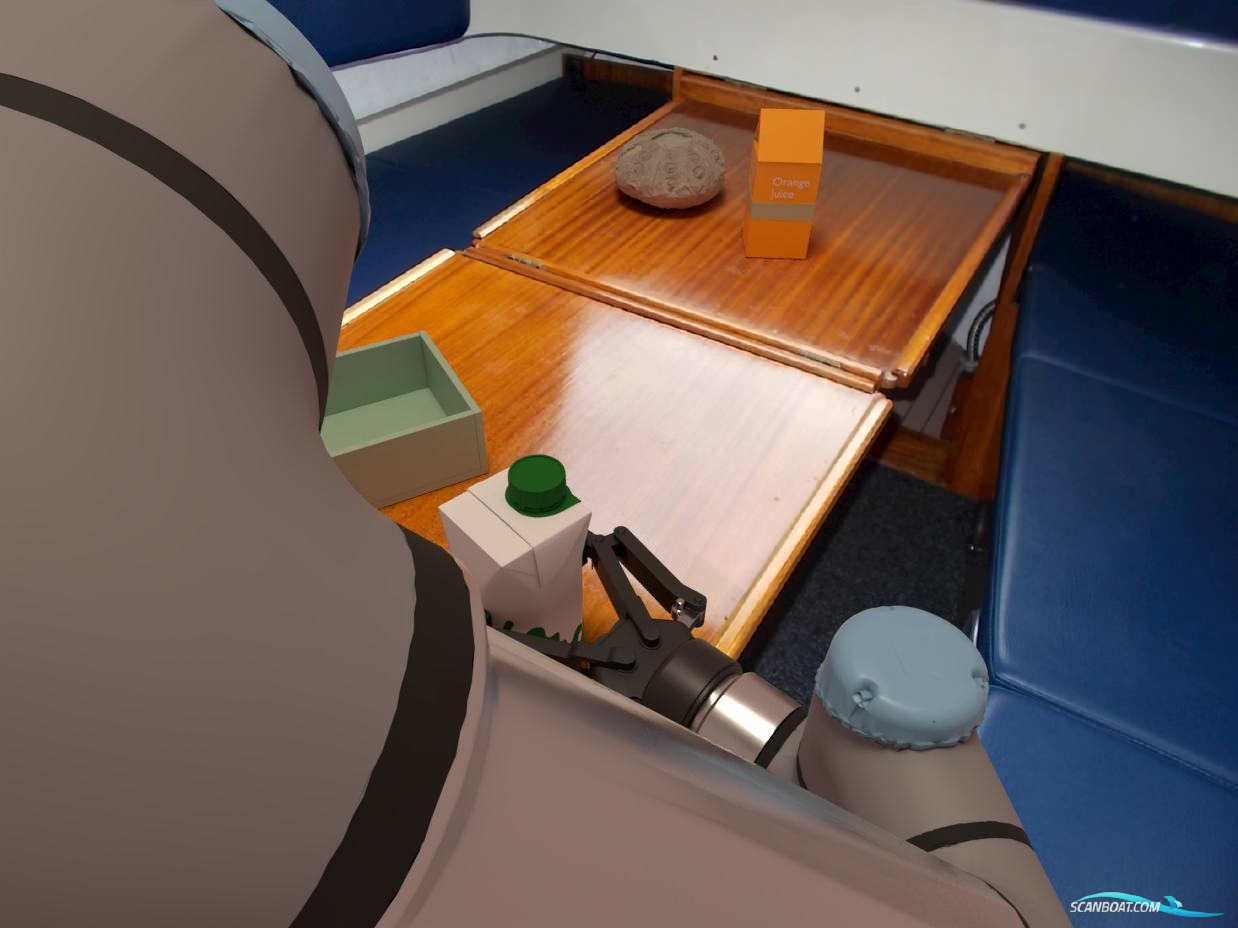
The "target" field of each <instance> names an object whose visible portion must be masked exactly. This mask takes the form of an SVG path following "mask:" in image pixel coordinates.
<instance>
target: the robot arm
mask: <svg viewBox="0 0 1238 928" xmlns="http://www.w3.org/2000/svg"><path fill="white" fill-rule="evenodd" d="M329 67H330V66H328V64H327V63H326V61H325V60H324V59H323V57H322V56H321V55H320V54H319V52H318V51H317V50H316V48H315V47H314V46H313V45H312V43H311V42H310V41H309V40H308V39H307V37H305V36H304V35H303V33H302V32H301V31H300V30H299V29H298V28H297V27H296V26H295V25H294V24H293V23H292V22H291V21H290V20H289V19H288V18H287V17H286V16H285V15H284V14H283V13H281V12H280V11H279V10H278V9H277V8H276V7H275V6H273V5H272V4H271V3H270V2H269V1H267V0H0V928H1074V926H1073V924H1072V922H1071V920H1070V918H1069V916H1068V914H1067V913H1066V909H1065V908H1064V907H1063V905H1062V903H1061V900H1060V898H1059V897H1058V895H1057V892H1056V891H1055V888H1054V887H1053V885H1052V883H1051V880H1050V878H1049V877H1048V875H1047V873H1046V871H1045V869H1044V867H1043V865H1042V863H1041V861H1040V858H1039V857H1038V856H1037V854H1036V852H1035V848H1034V847H1033V845H1032V843H1031V841H1030V839H1029V836H1028V834H1027V832H1026V830H1025V828H1024V825H1023V823H1022V822H1021V820H1020V817H1019V816H1018V814H1017V811H1016V809H1015V808H1014V805H1013V803H1012V801H1011V799H1010V797H1009V796H1008V794H1007V791H1006V789H1005V787H1004V785H1003V783H1002V782H1001V781H1002V780H1001V779H1000V777H999V775H998V773H997V771H996V769H995V767H994V765H993V763H992V761H991V759H990V757H989V755H988V753H987V751H986V749H985V747H984V745H983V743H982V741H981V739H980V737H979V735H978V731H977V729H979V728H980V727H981V726H982V724H983V721H984V720H985V717H984V715H985V712H986V706H987V703H988V700H989V697H988V696H989V691H990V685H989V680H990V678H989V673H988V667H987V664H986V661H985V660H984V658H983V656H982V654H981V652H980V651H979V649H978V648H977V647H976V645H975V644H974V642H973V641H972V640H971V639H970V638H969V636H967V635H966V634H965V633H964V632H962V630H961V629H959V628H958V627H957V626H955V625H954V624H952V623H951V622H950V621H948V620H946V619H944V618H942V617H940V616H938V615H936V614H934V613H931V612H929V611H926V610H924V609H920V608H917V607H912V606H905V605H889V606H886V605H883V606H882V605H881V606H878V607H872V608H868V609H867V608H866V609H863V610H862V611H860V612H857V613H856V614H853V616H851V617H850V618H848V619H847V620H845V622H843V623H842V624H841V626H840V627H839V628H838V629H837V630H836V632H835V634H834V636H833V637H832V640H831V643H830V646H829V647H828V650H827V653H826V655H825V658H824V660H823V661H822V662H821V663H820V664H819V665H820V666H819V667H818V668H817V670H816V675H815V677H814V681H815V683H814V684H815V685H814V688H813V692H812V695H811V700H810V704H809V708H808V709H807V708H805V706H804V705H801V704H800V703H799V702H797V701H796V700H794V699H793V698H792V697H790V696H789V695H787V694H786V693H784V692H783V691H781V690H780V689H779V688H777V687H776V686H774V685H773V684H772V683H770V682H768V681H767V680H765V679H764V678H763V677H761V676H760V675H758V674H757V673H755V672H745V673H744V671H743V668H742V665H741V664H740V663H739V662H738V661H737V660H735V659H734V658H733V657H731V656H729V655H728V654H727V653H725V652H723V651H722V650H721V649H719V648H718V647H716V646H715V645H714V644H712V643H710V642H708V641H707V640H706V639H704V638H700V637H695V636H694V635H693V633H692V631H693V630H694V629H698V628H699V629H700V628H702V627H703V626H704V625H705V621H706V611H707V604H708V598H707V597H706V595H705V594H704V593H701V592H699V591H697V590H695V589H693V588H691V587H689V586H687V585H685V584H684V583H683V582H681V580H679V579H678V577H677V576H676V575H675V574H674V573H672V571H671V570H670V569H668V568H667V566H666V565H665V564H664V563H663V562H662V561H661V560H660V559H659V558H658V557H657V556H656V555H655V554H654V553H653V552H652V551H651V550H650V549H649V548H648V547H647V546H646V545H644V543H643V542H642V541H641V540H640V538H638V537H637V536H636V535H635V534H634V533H633V532H632V531H631V530H630V529H629V528H628V527H626V526H625V525H617V526H616V527H614V528H613V531H612V532H610V533H608V534H605V535H604V534H600V533H599V534H596V533H594V532H593V531H591V530H590V529H588V532H587V536H586V541H585V545H584V549H583V553H582V568H583V567H584V566H586V565H587V564H589V559H590V564H591V565H590V566H591V567H590V568H591V571H595V574H596V576H597V577H598V579H599V581H600V583H601V585H602V587H603V588H604V591H605V593H606V595H607V598H608V599H609V601H610V603H611V606H612V607H613V609H614V611H615V613H616V615H617V617H618V620H617V621H616V622H614V623H613V626H611V628H610V630H609V631H608V632H607V633H604V634H603V635H601V636H599V637H598V638H596V640H595V641H594V642H587V641H585V642H583V641H576V642H575V643H573V644H571V643H566V642H561V641H557V640H552V639H548V638H543V637H538V636H534V635H529V634H524V633H520V632H515V631H510V630H506V629H501V628H496V627H493V625H492V617H491V614H490V613H489V612H487V611H486V610H485V609H484V608H483V605H482V601H481V597H480V592H479V590H478V587H477V585H476V583H475V581H474V579H473V577H472V574H471V573H470V572H469V570H468V569H467V568H466V566H465V565H464V563H463V562H462V561H461V560H459V559H458V558H457V557H455V556H454V555H453V554H451V553H450V550H449V551H448V550H447V549H446V548H444V547H443V546H441V545H439V544H437V543H435V542H433V541H431V540H430V539H427V538H426V537H424V536H422V535H420V534H418V533H417V532H415V531H413V530H411V529H409V528H408V527H406V526H404V525H402V524H401V523H399V522H397V521H395V520H393V519H391V518H390V517H389V516H388V515H385V514H384V513H383V512H382V511H380V509H376V508H375V507H373V506H372V505H371V504H369V503H368V502H367V501H366V500H365V499H364V498H363V497H362V496H361V495H360V494H359V492H358V491H357V490H356V489H355V488H354V487H353V486H352V485H351V484H350V483H349V481H348V480H347V478H346V477H345V476H344V474H343V473H342V471H341V470H340V469H339V467H338V466H337V464H336V463H335V462H334V460H333V459H332V457H331V456H330V455H329V453H328V452H327V450H326V447H325V445H324V442H323V440H322V437H321V435H320V434H321V429H322V425H323V421H324V416H325V410H326V404H327V399H328V394H329V389H330V383H331V378H332V373H333V368H334V362H335V357H336V353H338V352H337V351H338V345H339V341H340V336H341V331H342V325H343V321H344V316H345V311H346V303H347V299H348V294H349V288H350V283H351V278H352V273H353V270H355V268H356V267H357V264H358V260H359V257H360V256H361V253H362V251H363V250H364V249H365V246H366V244H367V240H368V236H369V235H368V234H369V230H370V229H369V228H370V223H371V217H372V215H371V209H372V208H371V203H370V188H369V183H368V178H367V163H366V162H367V161H366V156H365V148H364V145H363V141H362V137H361V134H360V130H359V126H358V124H357V123H358V122H357V120H356V118H355V116H354V112H353V110H352V108H351V106H350V104H349V101H348V99H347V97H346V95H345V93H344V91H343V89H342V87H341V85H340V84H339V82H338V80H337V78H336V77H335V75H334V73H333V71H332V70H331V68H329ZM622 566H623V567H624V568H625V569H626V571H627V572H629V573H630V575H632V577H633V578H634V579H635V580H636V581H637V583H639V585H641V586H642V587H643V588H644V589H645V590H646V591H647V592H648V593H649V595H650V596H651V597H652V598H653V599H654V600H655V601H656V602H657V603H658V604H659V605H660V606H661V607H662V608H663V609H664V610H665V611H666V612H667V613H668V614H670V618H671V619H667V618H666V619H664V618H653V617H652V615H651V614H650V612H649V610H648V609H647V606H646V605H645V603H644V601H643V599H642V597H641V596H640V595H638V594H637V593H636V591H635V589H634V586H633V585H632V584H631V581H630V580H629V577H628V576H627V574H626V572H625V570H624V568H623V567H622ZM586 662H588V666H587V667H586Z"/></svg>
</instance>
